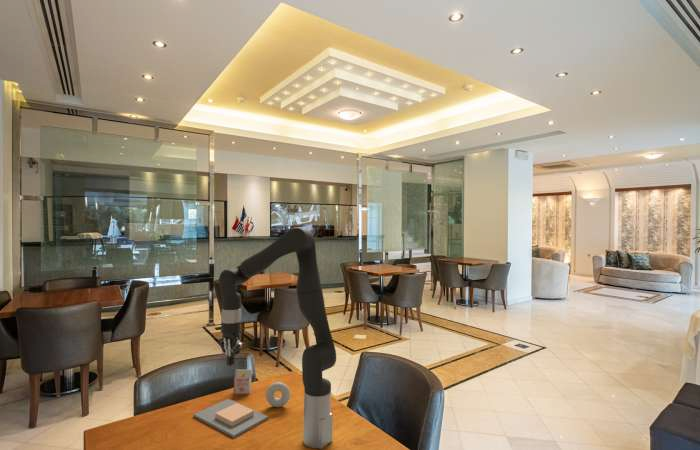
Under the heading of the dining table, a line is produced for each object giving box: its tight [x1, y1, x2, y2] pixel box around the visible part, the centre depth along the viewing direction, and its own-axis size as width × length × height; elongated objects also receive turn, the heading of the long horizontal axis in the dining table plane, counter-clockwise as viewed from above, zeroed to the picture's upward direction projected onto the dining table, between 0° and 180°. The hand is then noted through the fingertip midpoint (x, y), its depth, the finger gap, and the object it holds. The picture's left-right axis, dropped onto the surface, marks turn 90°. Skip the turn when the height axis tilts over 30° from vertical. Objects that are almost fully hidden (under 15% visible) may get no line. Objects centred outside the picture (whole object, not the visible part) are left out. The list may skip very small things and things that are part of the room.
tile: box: [215, 402, 255, 427], centre depth 139 cm, size 2×10×10 cm
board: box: [193, 398, 269, 439], centre depth 140 cm, size 24×16×1 cm, turn 56°
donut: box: [265, 381, 291, 408], centre depth 150 cm, size 10×4×10 cm, turn 91°
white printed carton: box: [233, 369, 252, 395], centre depth 162 cm, size 4×7×10 cm, turn 92°
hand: (230, 364), depth 141 cm, fingers closed
